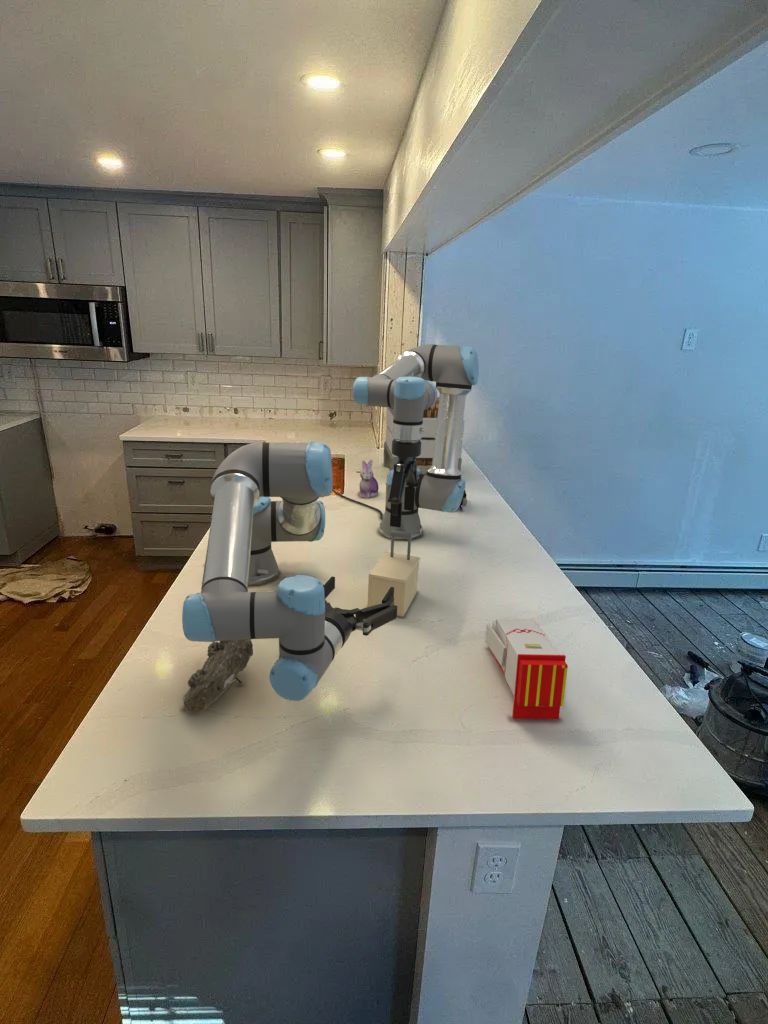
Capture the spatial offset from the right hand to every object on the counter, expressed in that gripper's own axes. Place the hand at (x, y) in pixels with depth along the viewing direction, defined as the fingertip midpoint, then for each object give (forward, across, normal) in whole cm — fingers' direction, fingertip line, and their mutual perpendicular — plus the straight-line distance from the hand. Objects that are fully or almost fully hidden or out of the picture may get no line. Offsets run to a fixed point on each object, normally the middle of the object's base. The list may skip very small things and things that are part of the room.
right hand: (402, 517), depth 151 cm
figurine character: (+22, +80, -2) cm, 83 cm away
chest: (+22, -5, 0) cm, 23 cm away
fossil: (+22, -52, +23) cm, 61 cm away
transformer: (+22, +122, +24) cm, 126 cm away
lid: (+13, -5, 0) cm, 14 cm away
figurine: (+22, +79, +35) cm, 89 cm away
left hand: (+5, -32, 0) cm, 33 cm away
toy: (+22, -28, -35) cm, 50 cm away
